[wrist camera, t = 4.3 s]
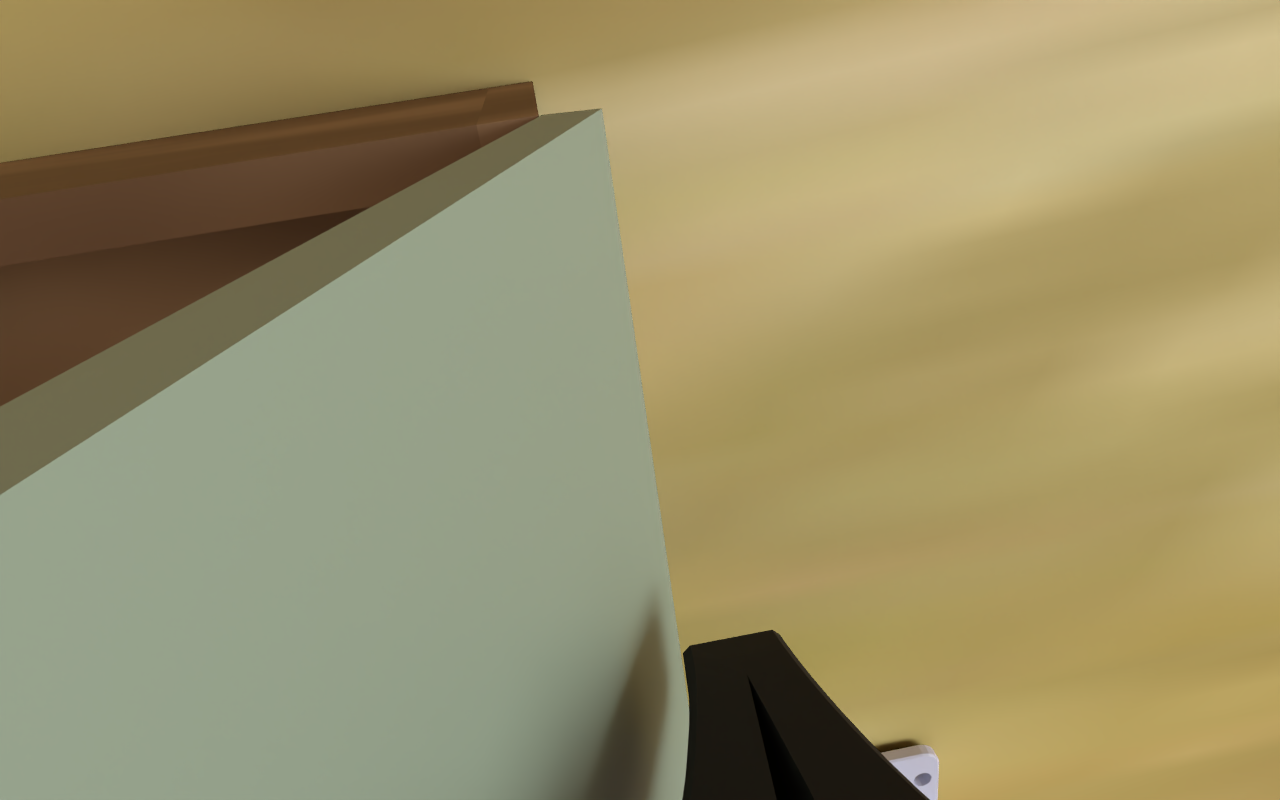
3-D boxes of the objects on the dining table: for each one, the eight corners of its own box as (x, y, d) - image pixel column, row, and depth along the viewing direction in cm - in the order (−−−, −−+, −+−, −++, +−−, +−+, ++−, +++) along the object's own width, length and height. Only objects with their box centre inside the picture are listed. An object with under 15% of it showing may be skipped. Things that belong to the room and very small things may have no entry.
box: (645, 714, 22) (676, 893, 18) (108, 822, 21) (1, 1038, 17) (532, 80, 15) (538, 115, 11) (-275, 205, 14) (-633, 297, 10)
